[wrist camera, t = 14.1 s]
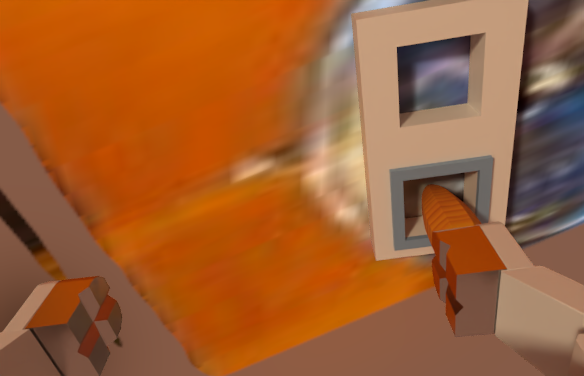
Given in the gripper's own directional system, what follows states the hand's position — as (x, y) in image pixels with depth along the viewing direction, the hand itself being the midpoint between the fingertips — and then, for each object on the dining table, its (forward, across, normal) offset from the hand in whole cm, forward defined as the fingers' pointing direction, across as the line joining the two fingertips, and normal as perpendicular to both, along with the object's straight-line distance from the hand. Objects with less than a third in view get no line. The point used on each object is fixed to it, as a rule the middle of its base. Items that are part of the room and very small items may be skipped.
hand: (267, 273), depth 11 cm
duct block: (+33, -13, +13) cm, 38 cm away
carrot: (+34, -13, +19) cm, 41 cm away
